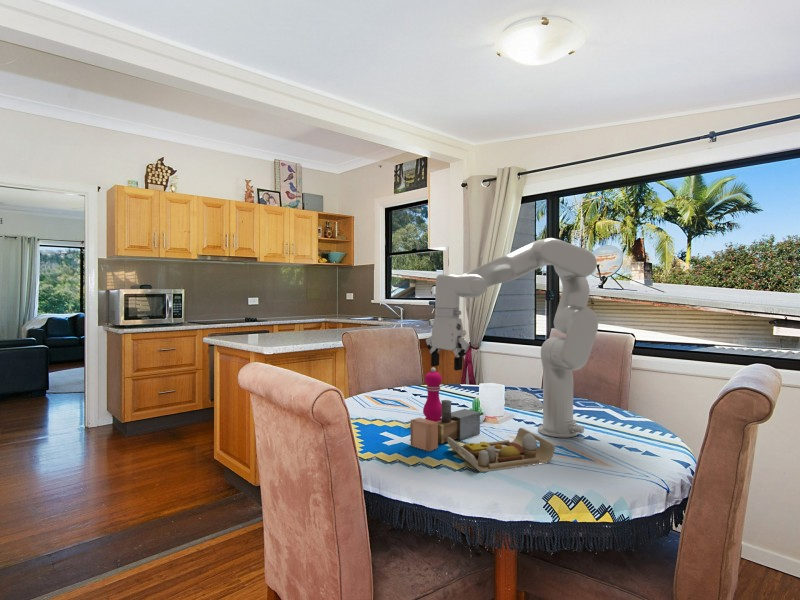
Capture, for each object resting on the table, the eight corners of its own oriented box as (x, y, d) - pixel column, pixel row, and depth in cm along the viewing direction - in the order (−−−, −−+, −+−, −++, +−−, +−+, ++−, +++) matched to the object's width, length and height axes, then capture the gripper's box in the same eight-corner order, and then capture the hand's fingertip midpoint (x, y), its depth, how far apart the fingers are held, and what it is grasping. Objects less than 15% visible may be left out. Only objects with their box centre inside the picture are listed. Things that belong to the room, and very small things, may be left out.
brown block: (437, 448, 141) (437, 422, 141) (428, 451, 138) (428, 425, 138) (419, 442, 147) (419, 417, 147) (410, 445, 144) (410, 419, 144)
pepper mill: (442, 427, 163) (442, 369, 162) (421, 426, 164) (421, 368, 164) (444, 421, 170) (444, 366, 170) (424, 420, 171) (424, 365, 171)
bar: (474, 432, 156) (474, 396, 156) (441, 443, 145) (441, 404, 145) (464, 430, 159) (464, 394, 159) (431, 440, 148) (431, 402, 148)
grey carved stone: (531, 412, 181) (532, 394, 182) (482, 403, 201) (483, 387, 202) (555, 410, 191) (555, 393, 191) (506, 402, 211) (506, 386, 211)
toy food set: (520, 443, 147) (520, 419, 147) (556, 464, 130) (556, 436, 130) (445, 451, 140) (445, 426, 139) (472, 475, 122) (473, 445, 122)
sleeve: (479, 433, 156) (479, 412, 156) (460, 440, 149) (460, 418, 149) (464, 429, 161) (464, 408, 160) (445, 435, 154) (445, 414, 154)
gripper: (476, 314, 145) (475, 370, 145) (435, 312, 158) (434, 363, 158) (460, 315, 140) (459, 373, 140) (419, 312, 153) (418, 365, 153)
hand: (446, 367), depth 149 cm, fingers open, 9 cm apart
